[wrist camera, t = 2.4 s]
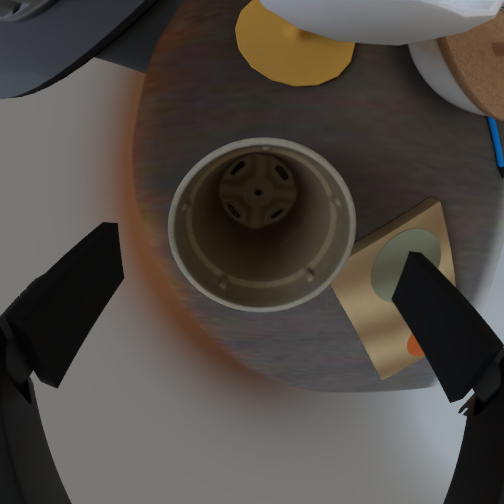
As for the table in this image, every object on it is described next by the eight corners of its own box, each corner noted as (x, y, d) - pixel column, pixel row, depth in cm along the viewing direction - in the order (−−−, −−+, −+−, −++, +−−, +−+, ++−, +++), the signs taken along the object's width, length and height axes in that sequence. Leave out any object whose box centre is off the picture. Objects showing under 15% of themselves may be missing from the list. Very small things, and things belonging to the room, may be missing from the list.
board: (318, 263, 24) (323, 272, 22) (431, 195, 21) (440, 201, 19) (378, 372, 32) (382, 381, 31) (454, 327, 29) (459, 334, 27)
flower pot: (339, 166, 20) (389, 198, 12) (283, 262, 24) (297, 332, 16) (229, 110, 18) (214, 103, 10) (181, 218, 22) (147, 274, 14)
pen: (448, 7, 11) (446, 6, 11) (506, 177, 19) (506, 182, 18) (441, 8, 12) (439, 7, 11) (499, 177, 19) (499, 182, 19)
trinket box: (393, -13, 12) (451, -50, 3) (478, 46, 13) (543, 43, 4) (375, 78, 16) (448, 64, 8) (465, 132, 18) (538, 153, 9)
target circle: (401, 331, 26) (402, 332, 26) (456, 295, 24) (457, 296, 24) (411, 364, 29) (411, 364, 29) (458, 333, 27) (459, 333, 27)
